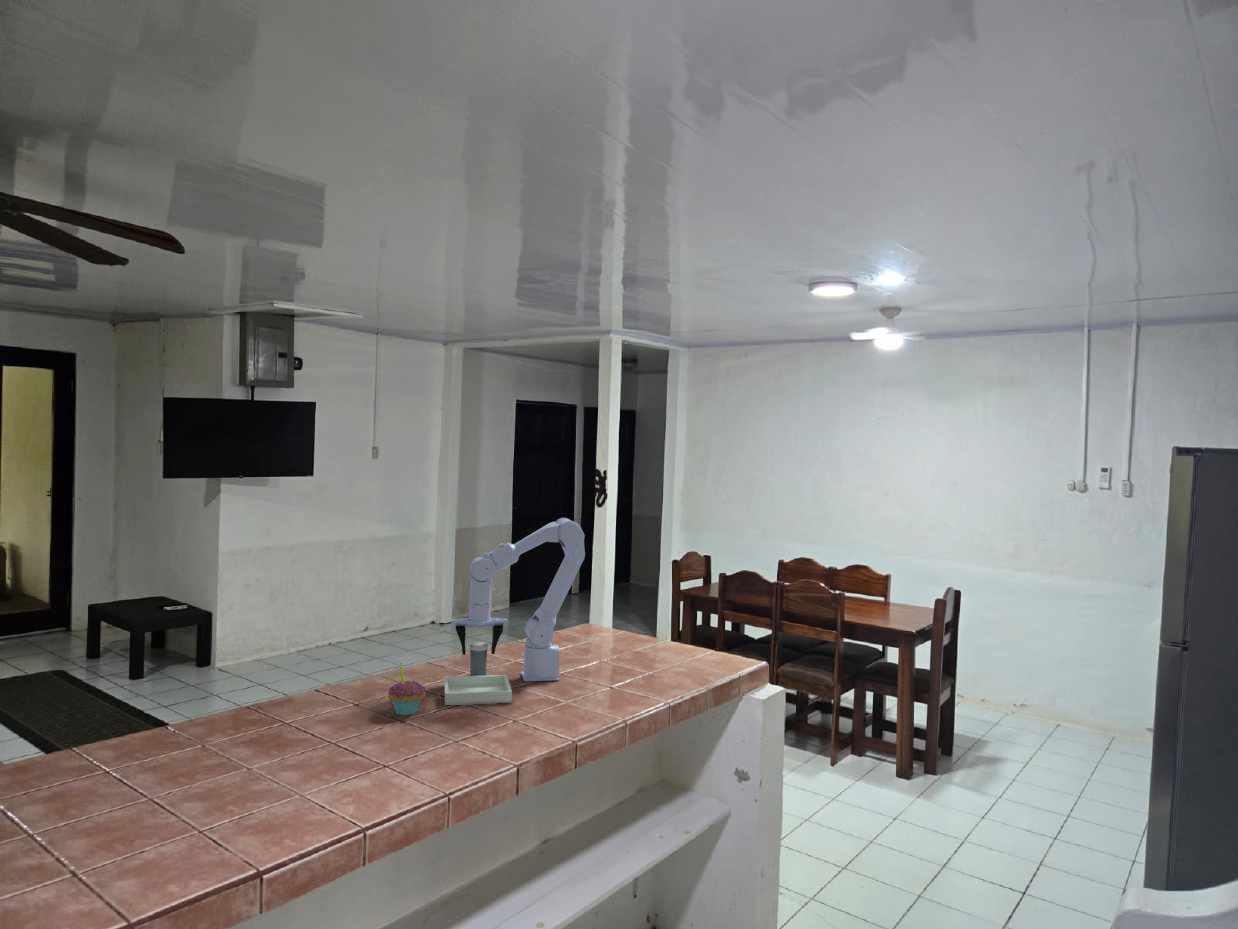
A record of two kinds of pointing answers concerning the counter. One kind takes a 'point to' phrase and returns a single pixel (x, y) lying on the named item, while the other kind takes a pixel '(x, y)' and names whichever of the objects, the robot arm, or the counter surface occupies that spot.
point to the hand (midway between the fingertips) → (478, 653)
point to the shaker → (478, 659)
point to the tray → (477, 690)
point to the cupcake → (406, 695)
